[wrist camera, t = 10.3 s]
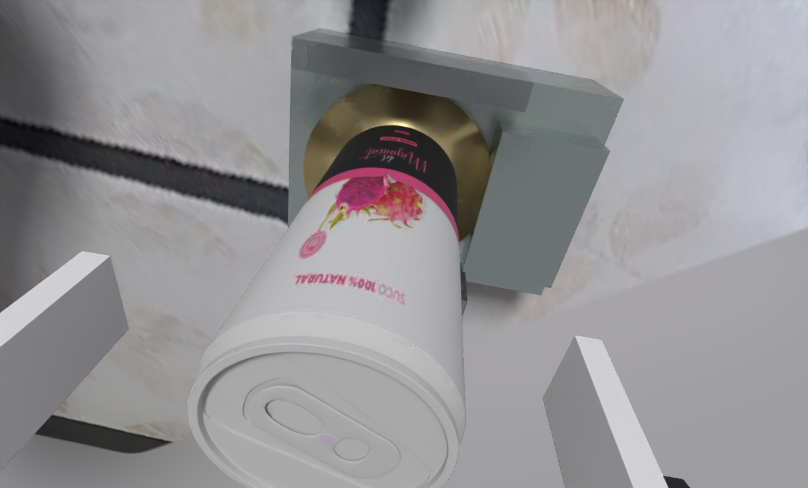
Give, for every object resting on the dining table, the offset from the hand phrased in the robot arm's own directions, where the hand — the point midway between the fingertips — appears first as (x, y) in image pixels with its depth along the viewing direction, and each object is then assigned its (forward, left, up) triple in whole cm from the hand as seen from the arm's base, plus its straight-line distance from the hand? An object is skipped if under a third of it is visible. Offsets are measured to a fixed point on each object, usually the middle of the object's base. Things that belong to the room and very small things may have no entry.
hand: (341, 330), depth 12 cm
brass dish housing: (+2, 0, -18) cm, 18 cm away
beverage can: (0, 0, -12) cm, 12 cm away
